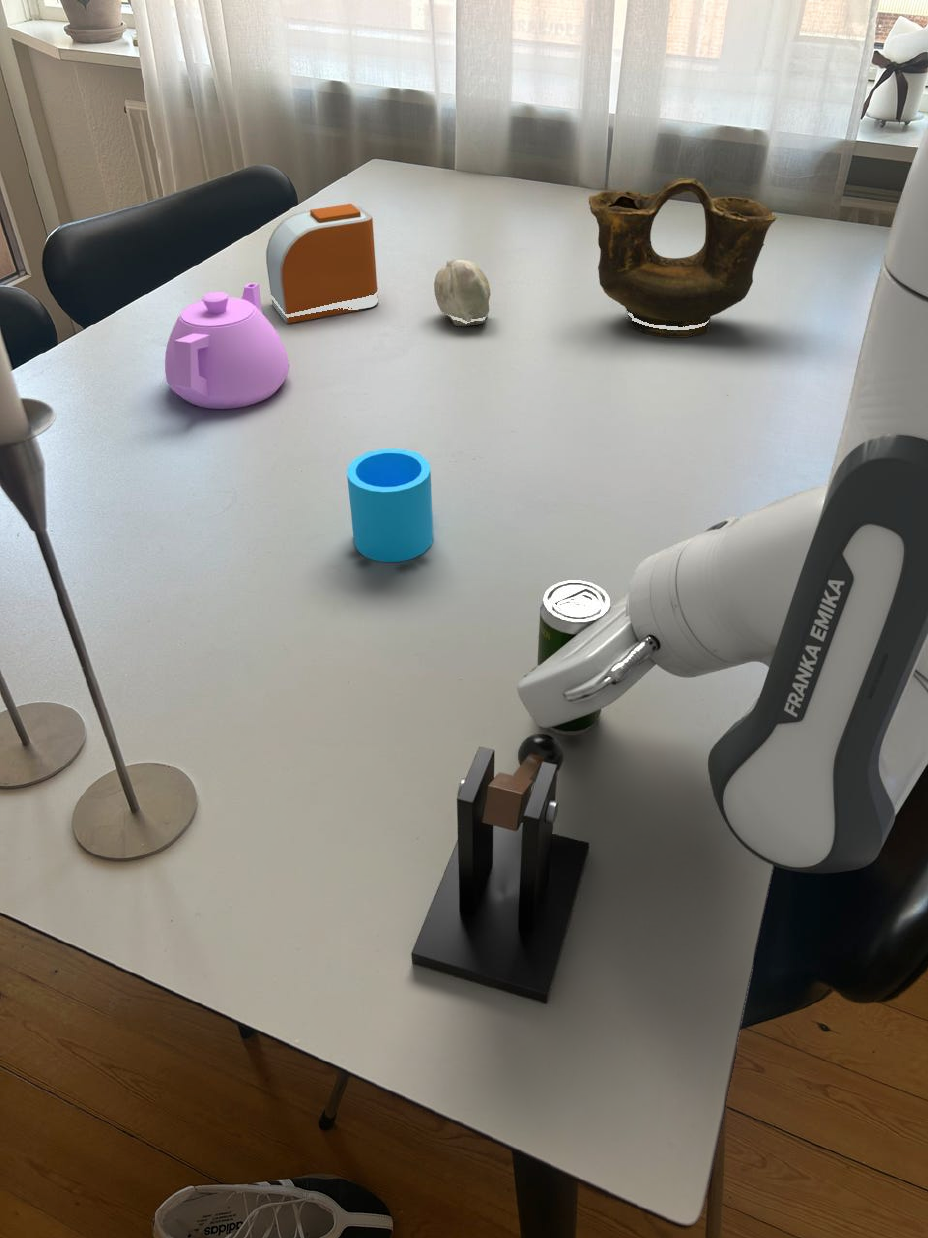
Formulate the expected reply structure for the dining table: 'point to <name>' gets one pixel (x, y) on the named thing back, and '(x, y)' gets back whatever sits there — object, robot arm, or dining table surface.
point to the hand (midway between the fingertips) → (568, 652)
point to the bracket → (504, 892)
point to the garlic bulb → (462, 291)
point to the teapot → (225, 352)
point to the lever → (519, 782)
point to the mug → (391, 504)
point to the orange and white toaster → (321, 260)
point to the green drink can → (569, 630)
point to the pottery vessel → (677, 283)
